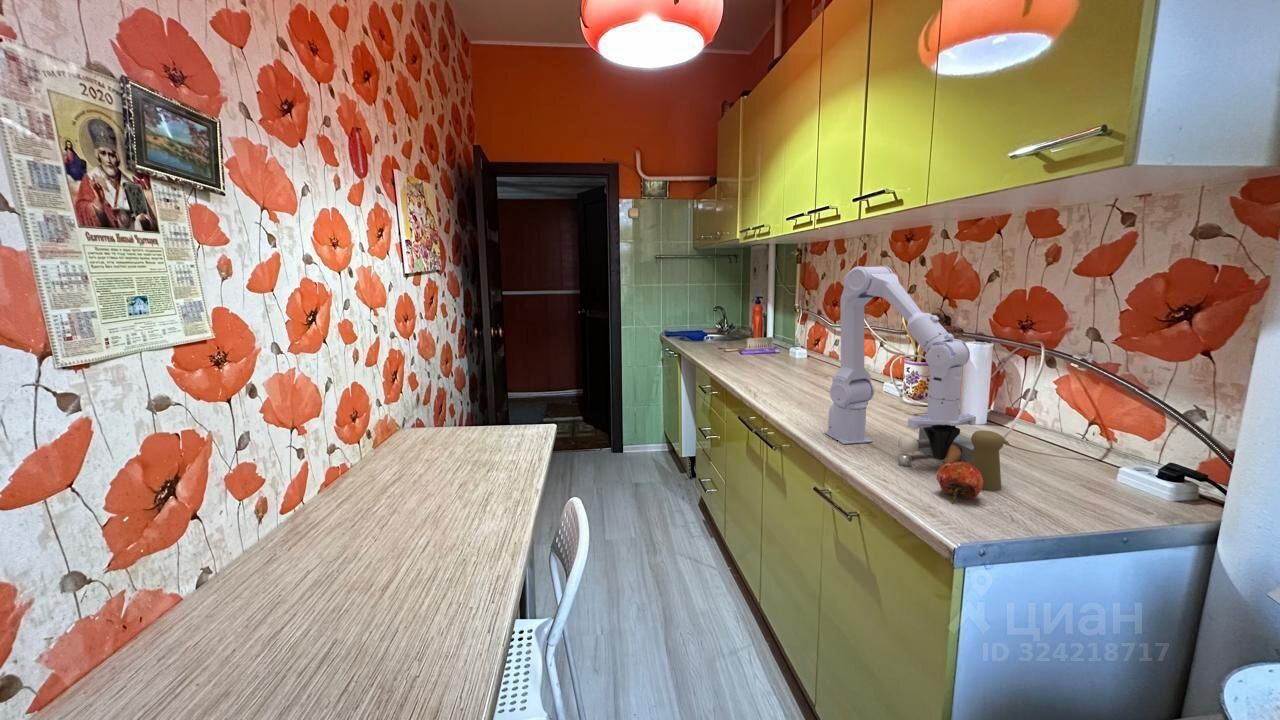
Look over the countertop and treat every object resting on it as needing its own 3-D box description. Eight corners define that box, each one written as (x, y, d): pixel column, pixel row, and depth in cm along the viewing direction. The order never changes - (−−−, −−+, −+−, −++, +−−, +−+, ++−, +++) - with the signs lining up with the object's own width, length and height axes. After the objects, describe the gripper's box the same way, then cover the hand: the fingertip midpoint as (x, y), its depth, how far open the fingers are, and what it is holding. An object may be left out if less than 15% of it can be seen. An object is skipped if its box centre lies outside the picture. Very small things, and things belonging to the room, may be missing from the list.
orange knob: (937, 459, 108) (939, 443, 108) (976, 456, 110) (977, 440, 109) (950, 465, 105) (951, 449, 104) (989, 461, 106) (991, 446, 106)
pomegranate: (979, 520, 89) (995, 476, 93) (967, 495, 86) (985, 451, 90) (935, 509, 95) (953, 468, 99) (922, 486, 92) (941, 445, 96)
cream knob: (897, 449, 115) (898, 435, 114) (934, 447, 116) (935, 432, 115) (907, 455, 111) (908, 440, 110) (945, 452, 112) (946, 437, 112)
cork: (1008, 491, 95) (1014, 436, 93) (977, 491, 95) (982, 437, 94) (987, 478, 101) (993, 427, 99) (958, 478, 101) (962, 427, 100)
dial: (895, 463, 110) (895, 454, 110) (905, 462, 111) (906, 453, 110) (903, 467, 108) (903, 458, 108) (913, 466, 108) (914, 457, 108)
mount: (917, 449, 119) (919, 427, 118) (938, 447, 119) (940, 426, 118) (971, 475, 103) (973, 450, 102) (994, 473, 104) (997, 448, 103)
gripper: (926, 403, 99) (921, 467, 101) (990, 399, 101) (983, 462, 103) (903, 395, 106) (898, 455, 108) (963, 392, 108) (957, 450, 110)
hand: (938, 458), depth 106 cm, fingers closed
